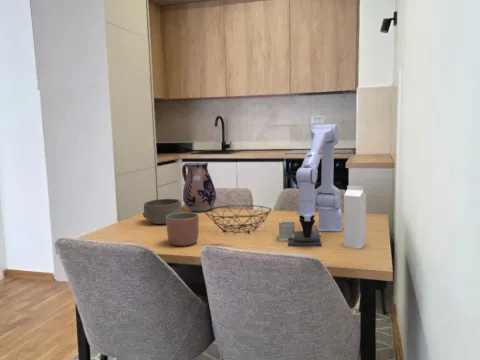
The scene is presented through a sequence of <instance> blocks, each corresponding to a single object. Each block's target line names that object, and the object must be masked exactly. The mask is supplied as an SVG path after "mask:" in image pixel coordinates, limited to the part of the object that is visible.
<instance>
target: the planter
mask: <svg viewBox="0 0 480 360" xmlns="http://www.w3.org/2000/svg"><path fill="white" fill-rule="evenodd" d="M199 219H200V218H199V214H198V213H197V212H188V211H186V212H185V211H182V212H181V213H174V214H169V215H167V216H166V224H165V225H166V234H167V239H168V242H169V244H170V245H172V246H176V247H187V246H191V245H194V244H195V243H196V242H198V238H199V232H200V231H199V229H200V228H199V224H200V223H199V222H200V221H199Z"/></svg>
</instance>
